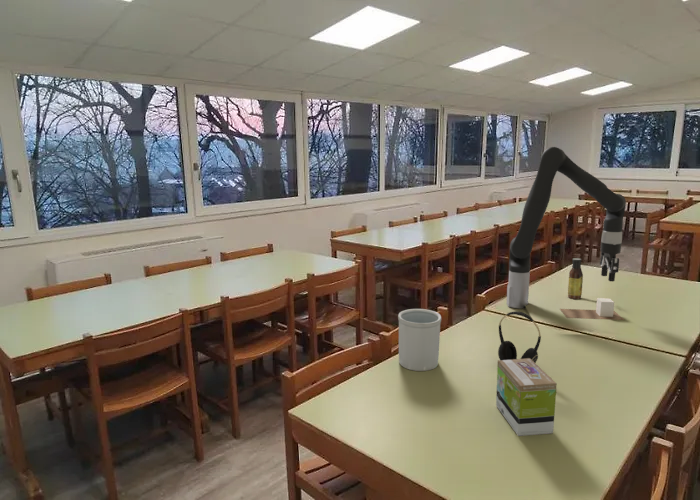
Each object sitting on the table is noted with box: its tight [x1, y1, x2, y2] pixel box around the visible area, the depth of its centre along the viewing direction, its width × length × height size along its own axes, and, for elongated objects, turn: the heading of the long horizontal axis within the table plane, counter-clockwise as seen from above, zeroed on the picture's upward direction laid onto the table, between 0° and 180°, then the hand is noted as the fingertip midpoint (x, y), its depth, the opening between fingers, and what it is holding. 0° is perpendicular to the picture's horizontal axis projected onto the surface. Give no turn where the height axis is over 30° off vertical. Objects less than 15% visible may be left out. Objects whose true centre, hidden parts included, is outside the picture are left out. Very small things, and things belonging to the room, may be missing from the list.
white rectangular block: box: [595, 297, 615, 317], centre depth 201 cm, size 5×5×7 cm
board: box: [559, 308, 625, 321], centre depth 202 cm, size 23×12×2 cm, turn 80°
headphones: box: [497, 310, 542, 364], centre depth 154 cm, size 9×15×20 cm, turn 43°
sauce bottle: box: [567, 257, 584, 300], centre depth 228 cm, size 6×6×20 cm
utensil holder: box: [397, 308, 442, 372], centre depth 160 cm, size 15×15×18 cm
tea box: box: [495, 358, 557, 437], centre depth 125 cm, size 15×10×15 cm, turn 5°
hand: (607, 278), depth 198 cm, fingers open, 8 cm apart
